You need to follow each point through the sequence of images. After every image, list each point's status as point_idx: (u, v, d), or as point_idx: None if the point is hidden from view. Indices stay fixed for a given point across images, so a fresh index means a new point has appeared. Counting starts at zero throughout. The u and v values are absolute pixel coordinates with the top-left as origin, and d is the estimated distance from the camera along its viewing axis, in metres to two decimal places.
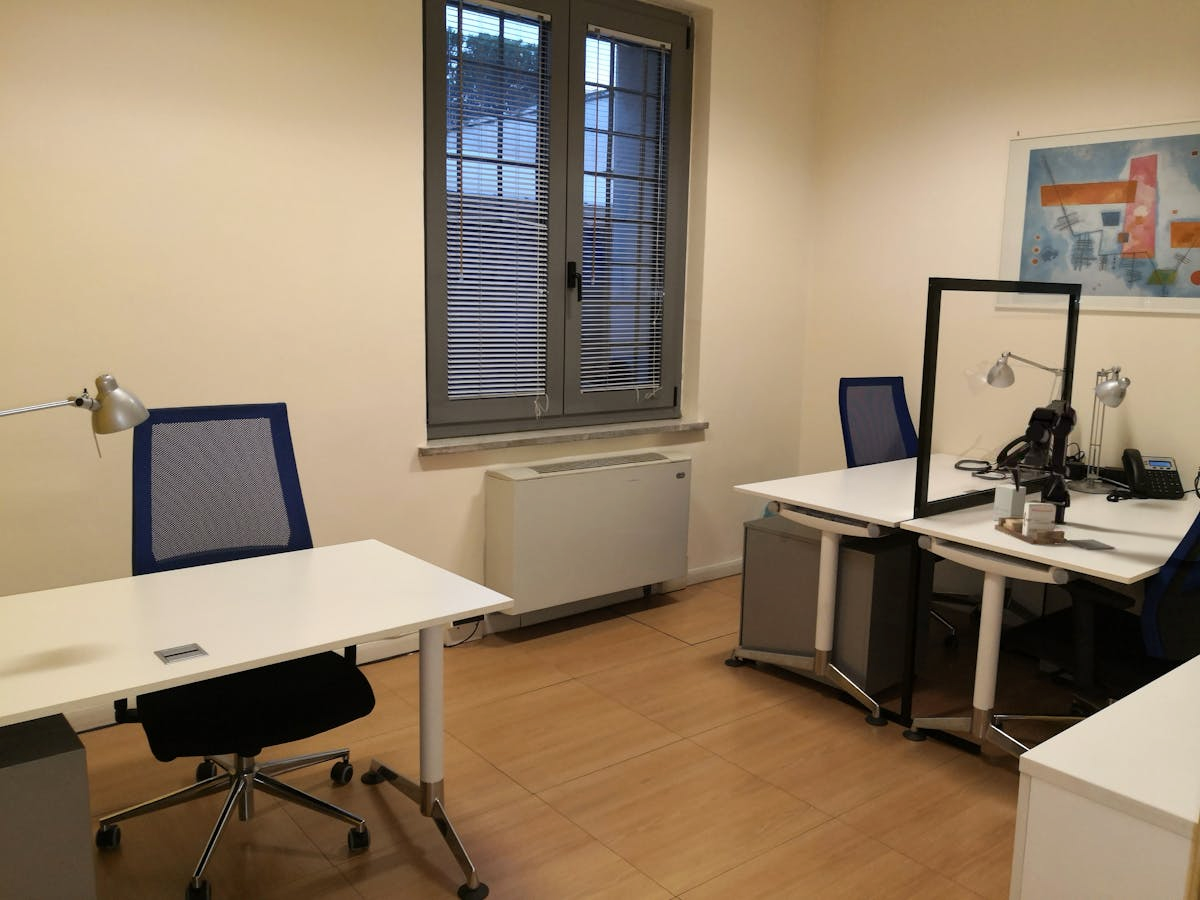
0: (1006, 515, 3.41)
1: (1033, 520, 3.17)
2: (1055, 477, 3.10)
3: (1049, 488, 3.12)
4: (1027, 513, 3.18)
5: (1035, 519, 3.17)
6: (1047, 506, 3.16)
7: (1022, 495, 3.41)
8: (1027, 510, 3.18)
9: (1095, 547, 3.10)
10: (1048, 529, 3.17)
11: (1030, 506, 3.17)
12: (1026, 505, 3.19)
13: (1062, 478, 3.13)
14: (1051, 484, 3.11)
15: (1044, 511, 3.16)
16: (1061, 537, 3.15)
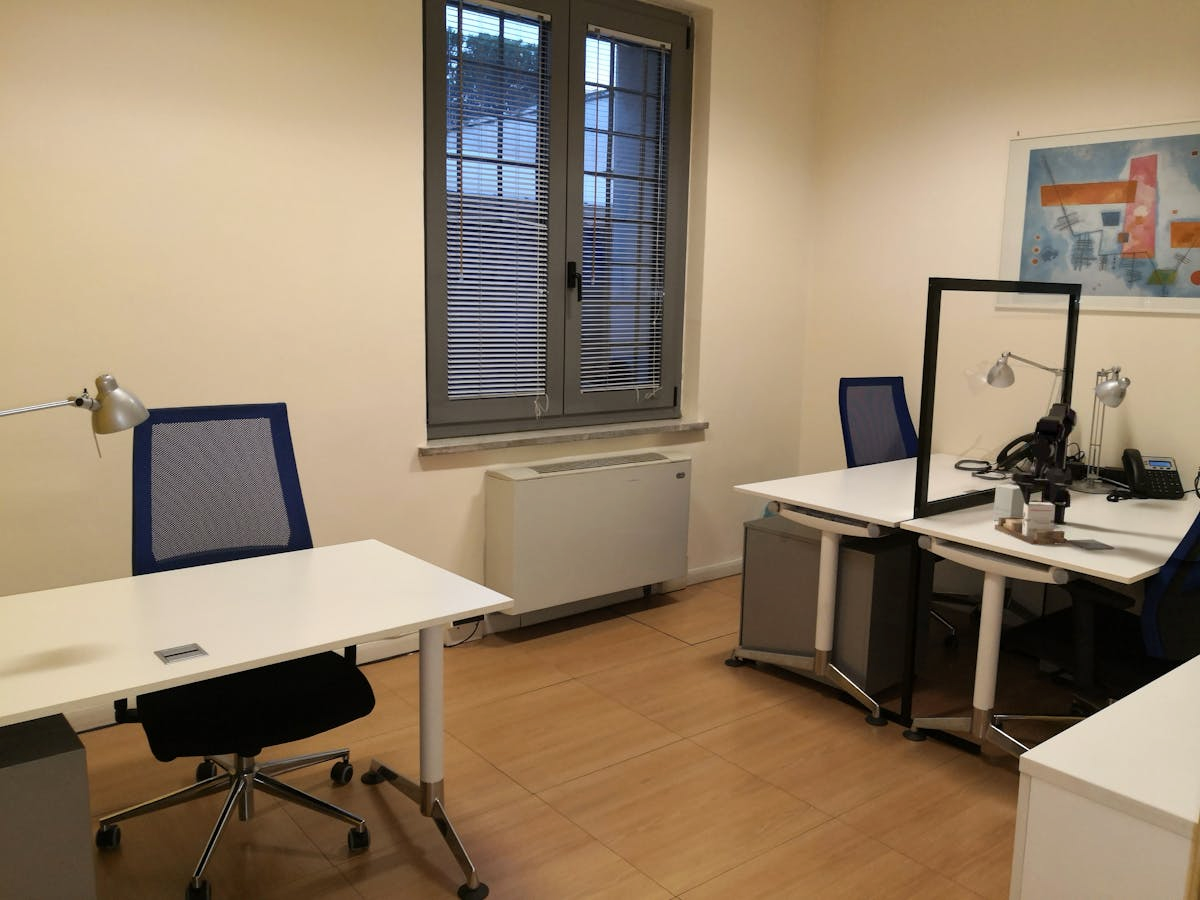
0: (1006, 515, 3.41)
1: (1033, 520, 3.17)
2: (1064, 488, 3.17)
3: (1056, 498, 3.18)
4: (1026, 513, 3.18)
5: (1035, 519, 3.17)
6: (1046, 506, 3.16)
7: (1022, 495, 3.41)
8: (1026, 510, 3.18)
9: (1095, 547, 3.10)
10: (1047, 528, 3.17)
11: (1029, 506, 3.16)
12: (1025, 505, 3.19)
13: None
14: (1058, 494, 3.18)
15: (1043, 511, 3.16)
16: (1061, 537, 3.15)
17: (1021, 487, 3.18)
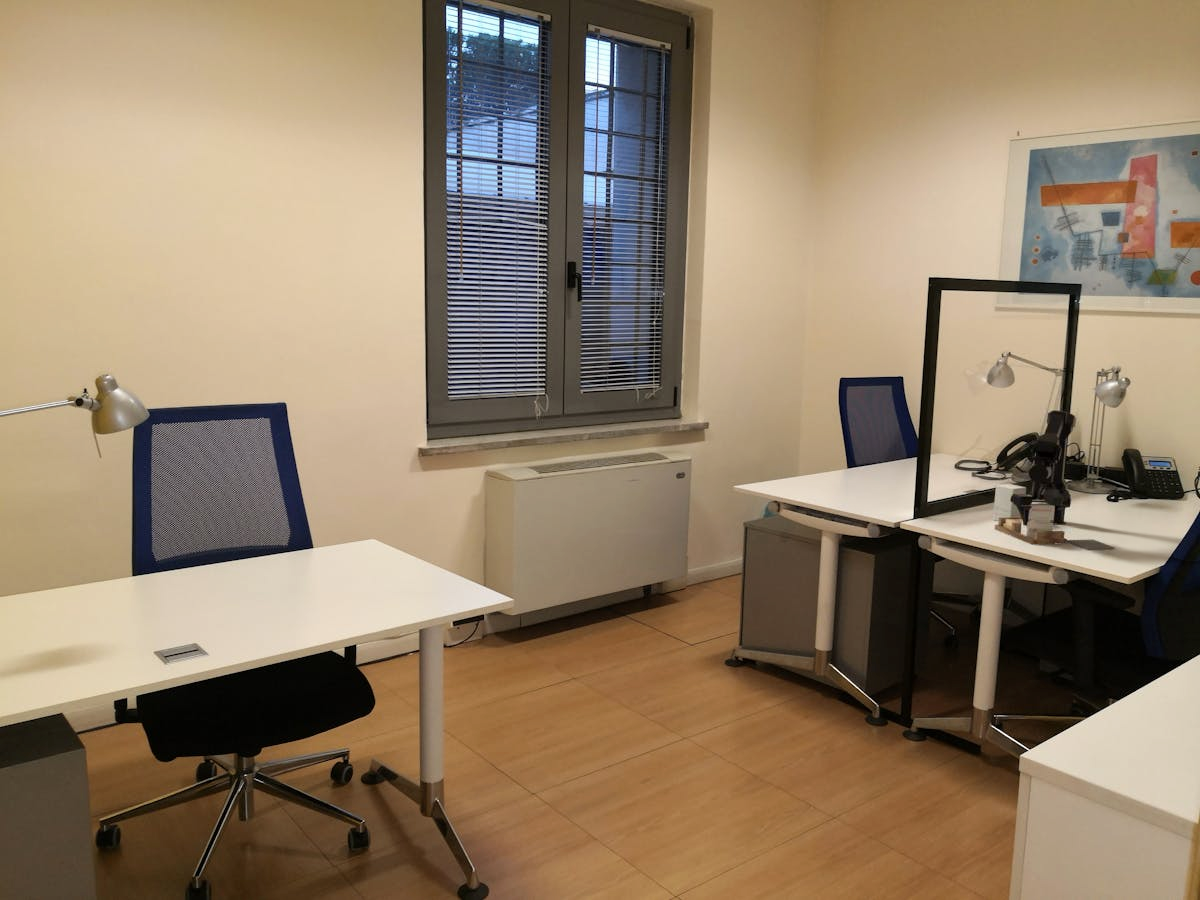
0: (1006, 515, 3.41)
1: (1033, 519, 3.17)
2: (1062, 508, 3.18)
3: (1054, 518, 3.19)
4: None
5: (1035, 519, 3.17)
6: (1046, 506, 3.17)
7: None
8: None
9: (1095, 547, 3.10)
10: (1047, 528, 3.18)
11: None
12: None
13: None
14: (1056, 514, 3.19)
15: (1043, 510, 3.17)
16: (1061, 537, 3.15)
17: (1019, 508, 3.19)
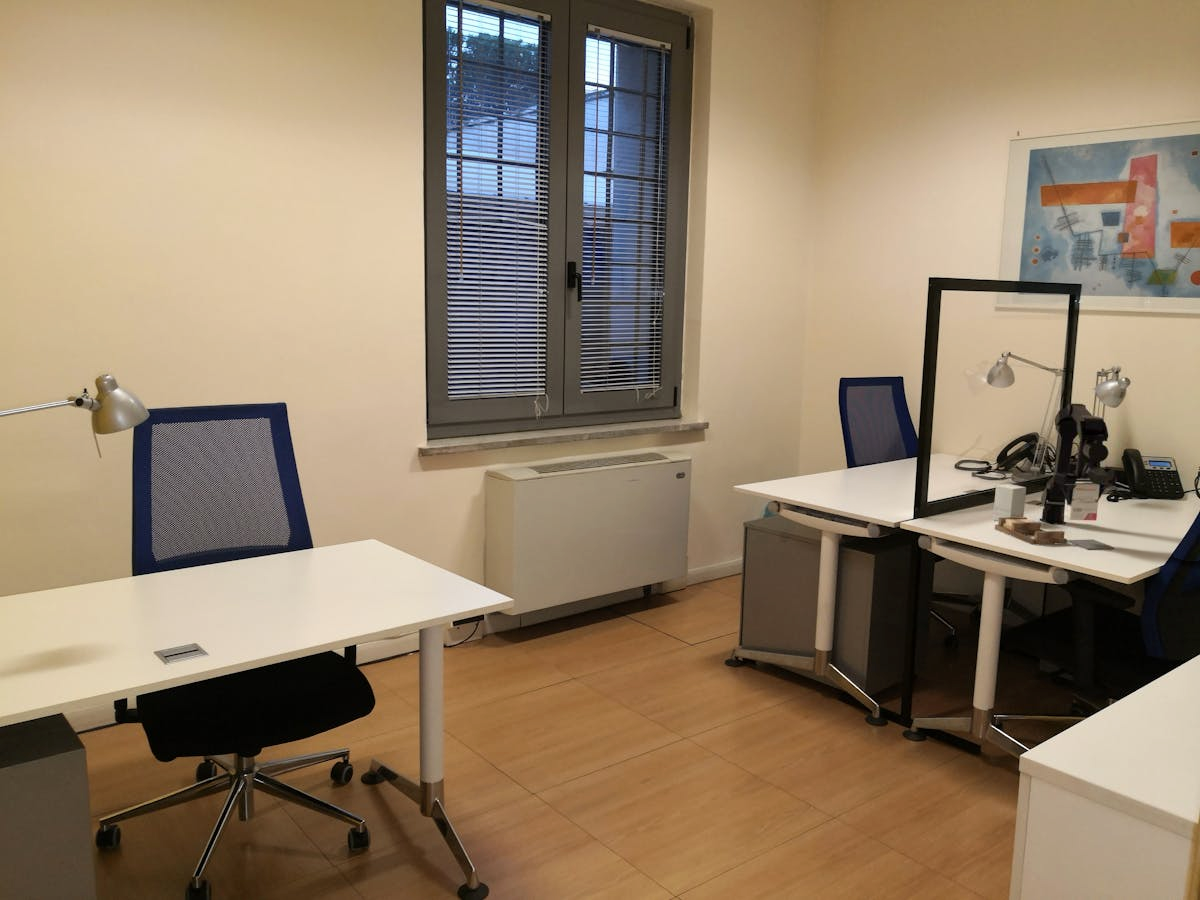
0: (1006, 515, 3.41)
1: (1077, 499, 3.11)
2: (1107, 487, 3.12)
3: None
4: None
5: (1079, 498, 3.11)
6: (1091, 485, 3.11)
7: (1022, 495, 3.41)
8: None
9: (1095, 547, 3.10)
10: (1092, 508, 3.12)
11: None
12: None
13: None
14: (1101, 493, 3.13)
15: (1088, 490, 3.11)
16: (1061, 537, 3.15)
17: (1063, 487, 3.13)
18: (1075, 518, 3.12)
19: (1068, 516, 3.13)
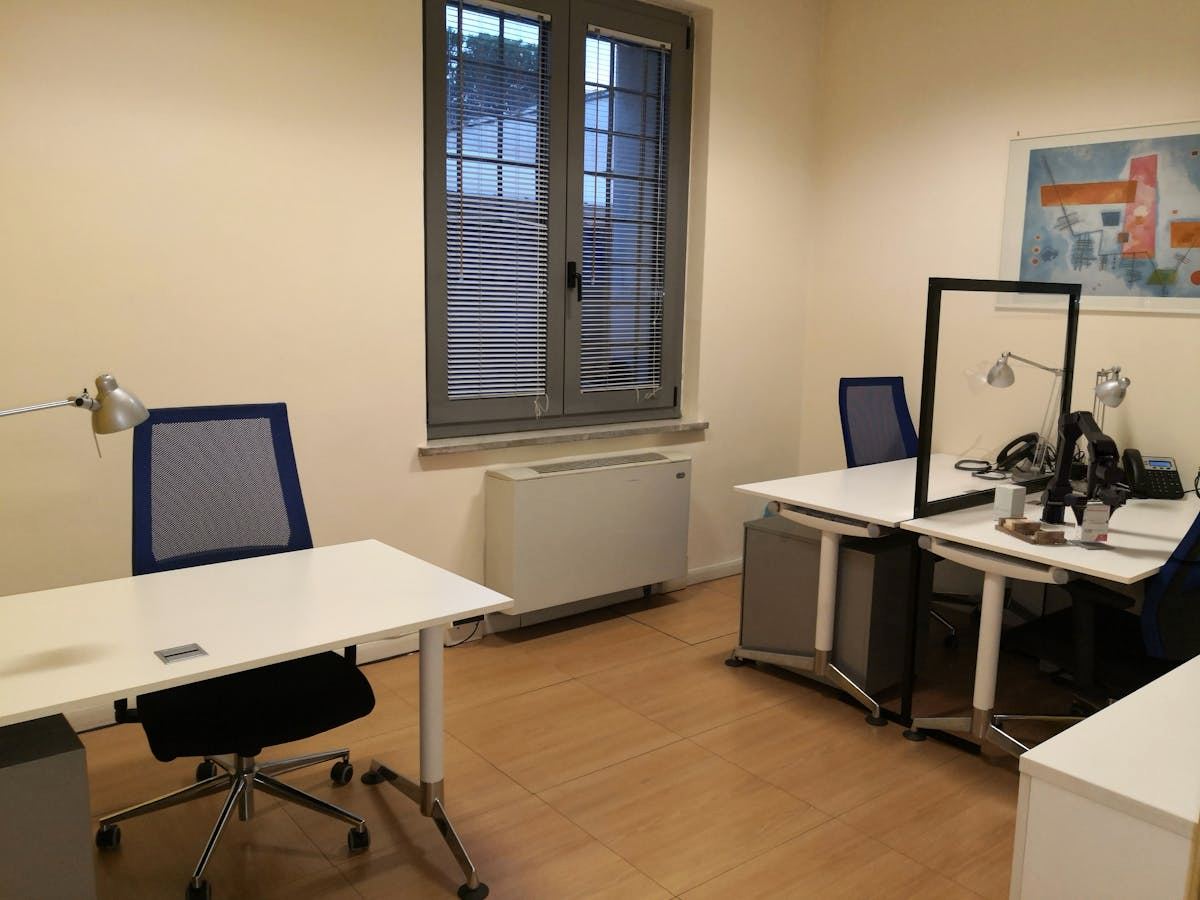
0: (1006, 515, 3.41)
1: (1088, 520, 3.11)
2: (1117, 508, 3.12)
3: (1109, 518, 3.13)
4: None
5: (1090, 519, 3.11)
6: (1102, 506, 3.11)
7: (1022, 495, 3.41)
8: None
9: (1095, 547, 3.10)
10: (1102, 529, 3.12)
11: None
12: None
13: None
14: (1111, 514, 3.13)
15: (1098, 511, 3.11)
16: (1061, 537, 3.15)
17: (1073, 508, 3.13)
18: (1086, 539, 3.12)
19: (1079, 537, 3.13)
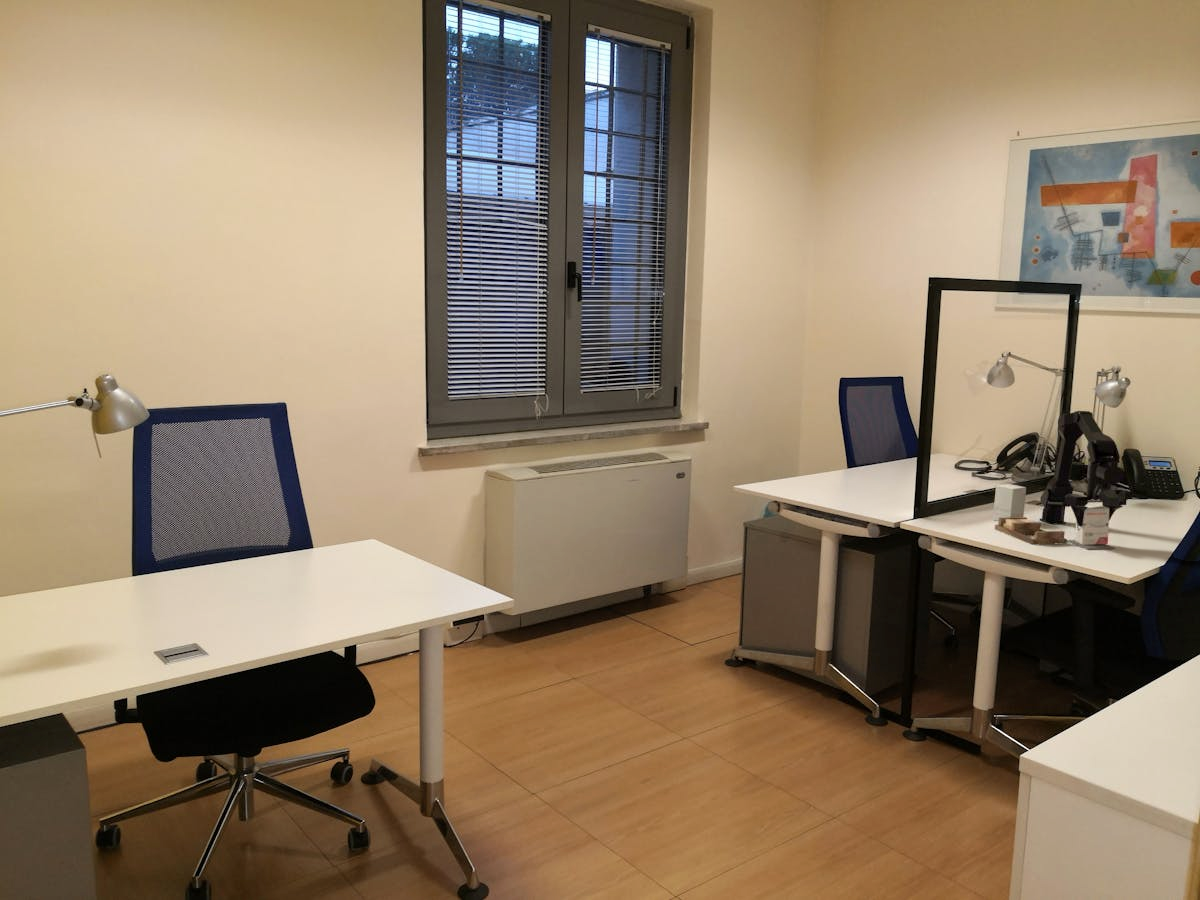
0: (1006, 515, 3.41)
1: (1089, 524, 3.11)
2: (1117, 508, 3.12)
3: (1109, 518, 3.13)
4: None
5: (1090, 523, 3.11)
6: (1101, 509, 3.11)
7: (1022, 495, 3.41)
8: None
9: (1095, 547, 3.10)
10: (1103, 532, 3.12)
11: (1085, 510, 3.11)
12: None
13: None
14: (1111, 514, 3.13)
15: (1098, 514, 3.11)
16: (1061, 537, 3.15)
17: (1074, 508, 3.13)
18: (1087, 543, 3.12)
19: (1080, 541, 3.13)
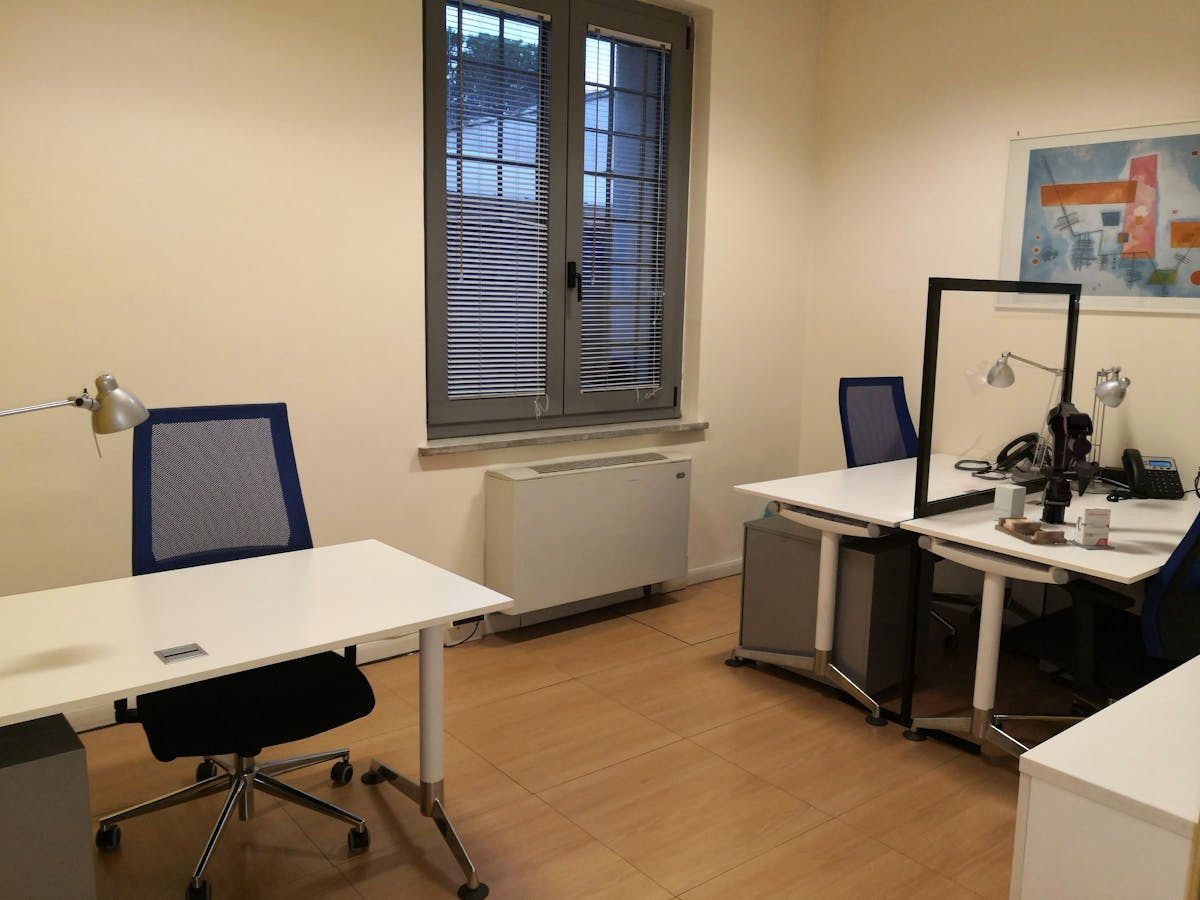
0: (1006, 515, 3.41)
1: (1090, 524, 3.11)
2: (1092, 480, 3.24)
3: (1084, 490, 3.26)
4: (1082, 517, 3.12)
5: (1091, 523, 3.11)
6: (1103, 510, 3.11)
7: (1022, 495, 3.41)
8: (1082, 515, 3.12)
9: (1095, 547, 3.10)
10: (1103, 533, 3.12)
11: (1086, 510, 3.11)
12: (1081, 509, 3.13)
13: None
14: (1086, 486, 3.25)
15: (1099, 515, 3.11)
16: (1061, 537, 3.15)
17: (1050, 480, 3.25)
18: (1087, 543, 3.12)
19: (1080, 541, 3.13)
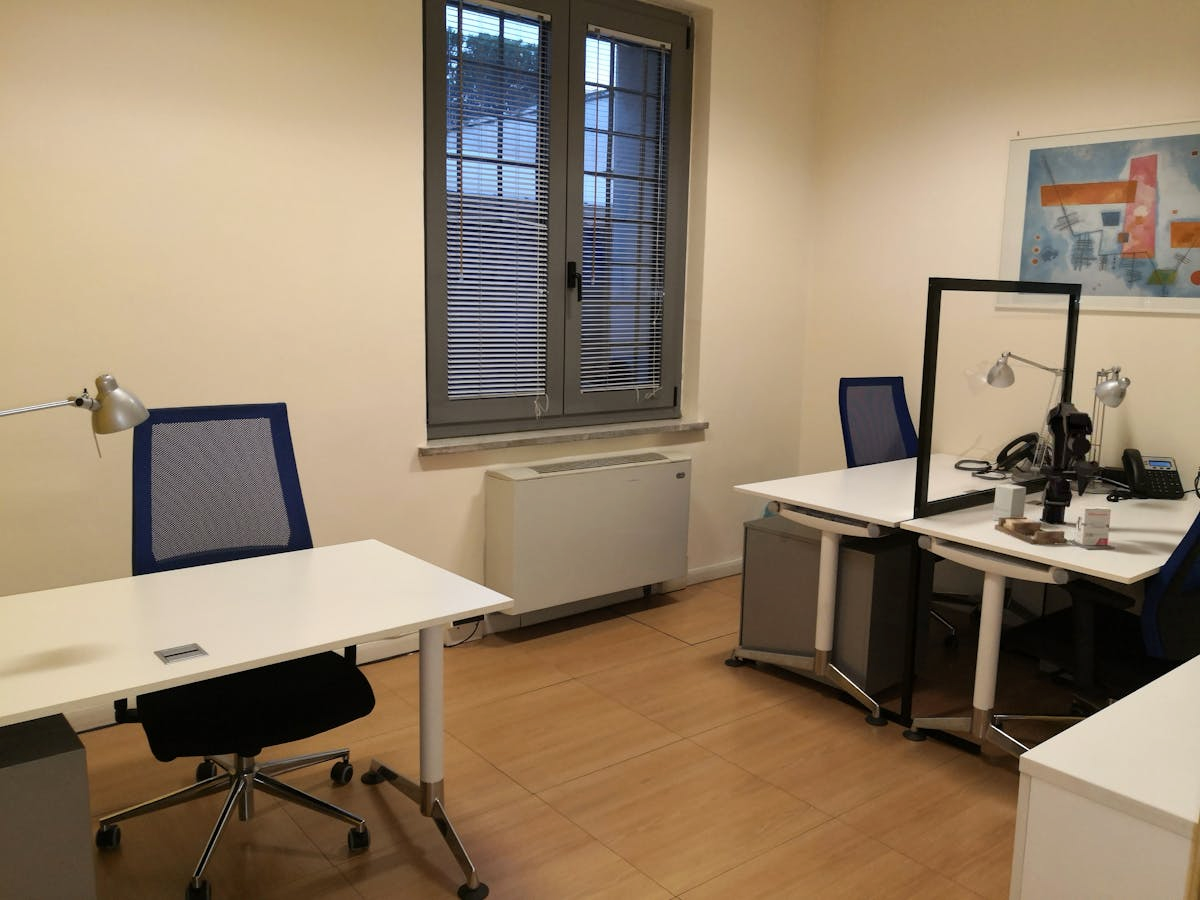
0: (1006, 515, 3.41)
1: (1090, 524, 3.11)
2: (1091, 479, 3.24)
3: (1084, 489, 3.26)
4: (1082, 517, 3.12)
5: (1091, 523, 3.11)
6: (1102, 510, 3.11)
7: (1022, 495, 3.41)
8: (1082, 515, 3.12)
9: (1095, 547, 3.10)
10: (1103, 533, 3.12)
11: (1086, 510, 3.11)
12: (1081, 509, 3.13)
13: None
14: (1086, 485, 3.25)
15: (1099, 515, 3.11)
16: (1061, 537, 3.15)
17: (1050, 480, 3.25)
18: (1087, 543, 3.12)
19: (1080, 541, 3.13)
